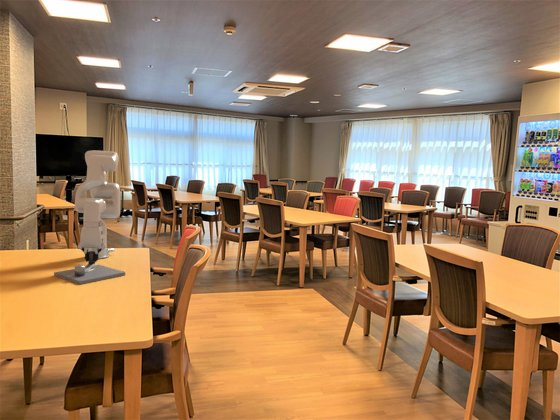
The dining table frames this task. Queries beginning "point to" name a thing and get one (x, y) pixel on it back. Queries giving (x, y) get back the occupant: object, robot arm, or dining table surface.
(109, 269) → the board
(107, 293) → the dining table surface
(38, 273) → the dining table surface
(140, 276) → the dining table surface
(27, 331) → the dining table surface
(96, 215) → the robot arm
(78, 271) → the swing lever
